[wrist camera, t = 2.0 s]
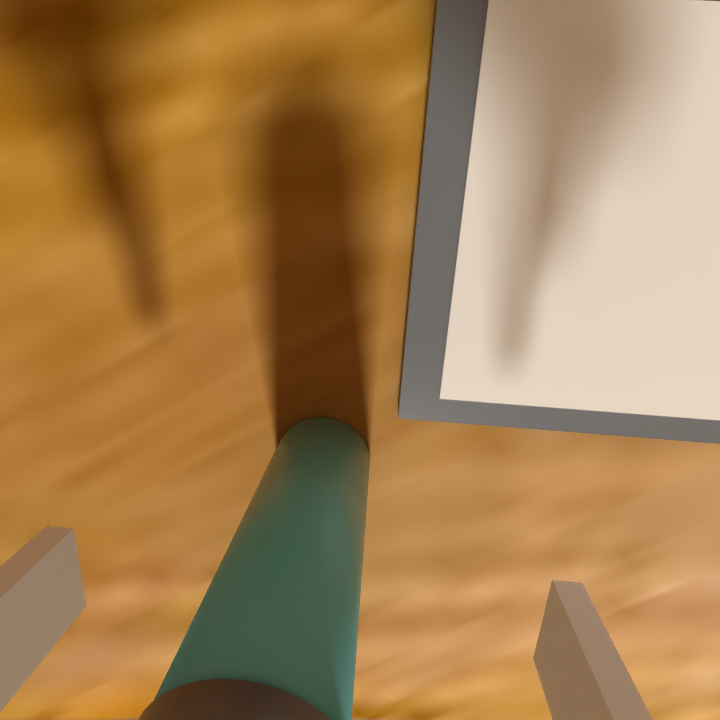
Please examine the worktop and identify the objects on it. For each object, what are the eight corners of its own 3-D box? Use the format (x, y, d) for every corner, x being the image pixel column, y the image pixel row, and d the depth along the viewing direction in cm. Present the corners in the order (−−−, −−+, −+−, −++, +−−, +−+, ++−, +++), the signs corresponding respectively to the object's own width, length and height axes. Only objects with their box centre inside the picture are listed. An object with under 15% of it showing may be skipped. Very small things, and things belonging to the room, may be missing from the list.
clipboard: (397, 412, 18) (398, 419, 17) (440, -39, 13) (442, -53, 13) (908, 452, 17) (930, 461, 16) (1139, -12, 13) (1181, -24, 12)
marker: (274, 497, 19) (97, 930, 8) (274, 411, 18) (61, 769, 6) (368, 505, 19) (339, 960, 7) (375, 419, 18) (352, 801, 6)
